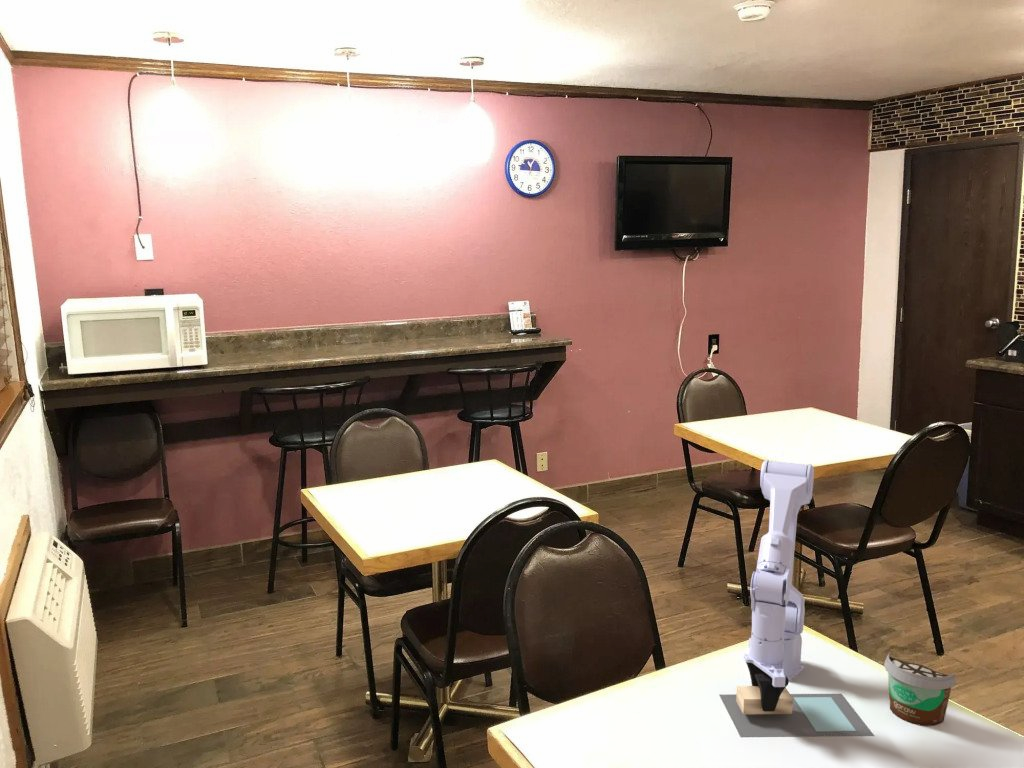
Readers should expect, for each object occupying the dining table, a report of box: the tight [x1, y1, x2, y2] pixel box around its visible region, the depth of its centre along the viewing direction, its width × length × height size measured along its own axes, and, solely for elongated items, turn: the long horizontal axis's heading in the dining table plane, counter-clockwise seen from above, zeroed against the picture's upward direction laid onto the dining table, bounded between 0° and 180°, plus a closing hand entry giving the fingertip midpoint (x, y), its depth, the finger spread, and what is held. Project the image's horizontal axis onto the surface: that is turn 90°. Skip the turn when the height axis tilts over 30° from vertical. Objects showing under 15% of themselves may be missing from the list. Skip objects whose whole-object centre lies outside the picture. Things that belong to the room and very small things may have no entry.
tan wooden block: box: [736, 685, 793, 714], centre depth 151 cm, size 9×4×3 cm, turn 91°
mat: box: [719, 693, 875, 738], centre depth 151 cm, size 24×14×1 cm, turn 91°
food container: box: [883, 652, 957, 727], centre depth 150 cm, size 12×6×10 cm, turn 47°
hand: (763, 702), depth 151 cm, fingers closed on tan wooden block, 4 cm apart
